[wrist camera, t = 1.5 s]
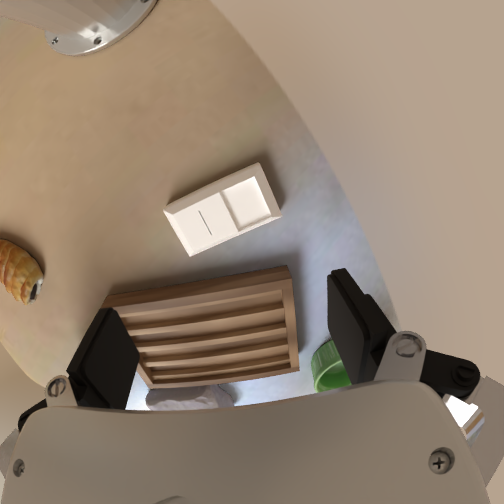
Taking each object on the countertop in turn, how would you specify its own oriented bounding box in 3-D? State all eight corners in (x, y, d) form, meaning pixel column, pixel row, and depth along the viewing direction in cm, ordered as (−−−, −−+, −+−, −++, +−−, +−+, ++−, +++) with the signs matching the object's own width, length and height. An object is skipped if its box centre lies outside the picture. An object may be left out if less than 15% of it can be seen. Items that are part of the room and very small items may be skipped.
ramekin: (321, 382, 37) (328, 404, 33) (295, 354, 33) (303, 379, 29) (373, 354, 35) (384, 375, 32) (356, 320, 32) (370, 343, 28)
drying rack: (107, 295, 27) (99, 308, 25) (286, 265, 27) (291, 278, 25) (152, 374, 33) (149, 388, 31) (295, 356, 33) (299, 370, 31)
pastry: (-5, 261, 24) (-20, 275, 21) (1, 223, 22) (-17, 235, 19) (40, 300, 27) (26, 317, 24) (49, 265, 25) (33, 282, 22)
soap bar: (167, 204, 24) (160, 213, 21) (257, 161, 23) (261, 165, 20) (192, 248, 26) (188, 261, 24) (278, 210, 25) (284, 219, 23)
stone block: (239, 394, 40) (208, 371, 34) (242, 421, 36) (210, 403, 30) (178, 406, 41) (142, 385, 35) (179, 430, 37) (140, 413, 31)
